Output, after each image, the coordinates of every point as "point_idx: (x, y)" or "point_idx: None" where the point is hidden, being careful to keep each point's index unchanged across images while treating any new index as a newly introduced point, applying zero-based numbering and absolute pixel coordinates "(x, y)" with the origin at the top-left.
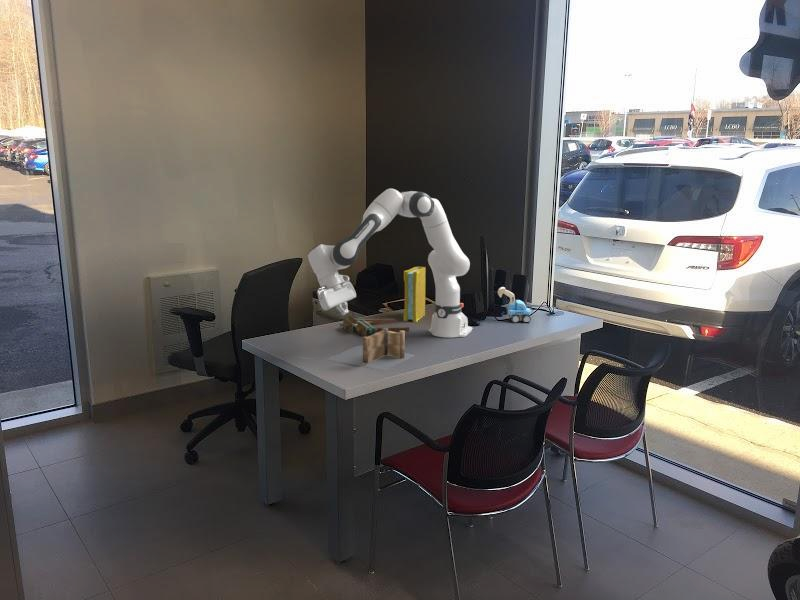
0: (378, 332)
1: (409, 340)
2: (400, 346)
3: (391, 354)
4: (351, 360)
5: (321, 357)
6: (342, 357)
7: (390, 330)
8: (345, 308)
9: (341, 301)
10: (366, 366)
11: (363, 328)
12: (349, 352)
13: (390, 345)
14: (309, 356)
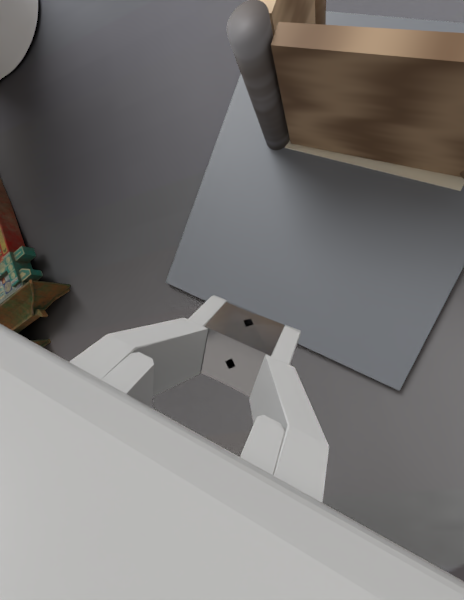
0: (337, 43)
1: (79, 121)
2: None
3: None
4: (401, 261)
5: (349, 413)
6: (355, 314)
7: (6, 211)
8: (192, 349)
9: (239, 505)
10: None
11: (33, 293)
12: (271, 299)
13: None
14: (341, 470)
